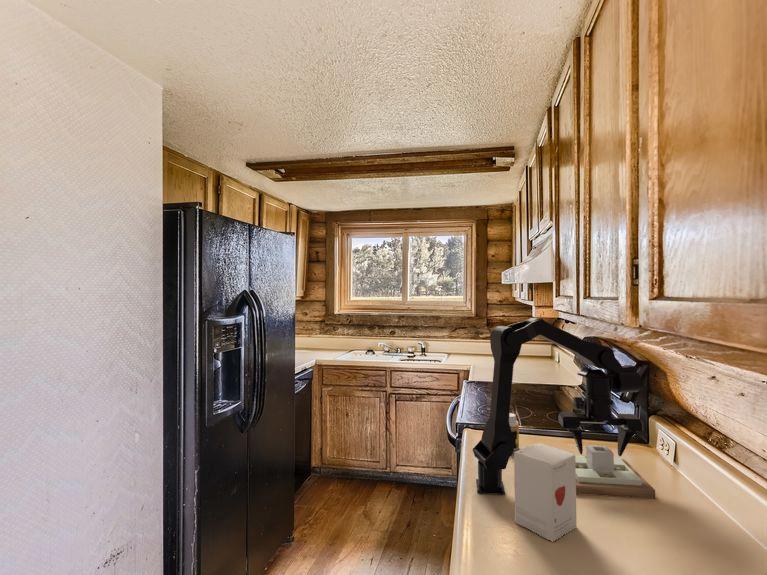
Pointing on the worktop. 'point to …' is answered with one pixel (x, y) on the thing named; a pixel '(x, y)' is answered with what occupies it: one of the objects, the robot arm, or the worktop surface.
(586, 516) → the worktop surface
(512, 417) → the supplement bottle
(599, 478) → the flange plate
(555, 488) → the supplement box
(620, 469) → the walnut board
